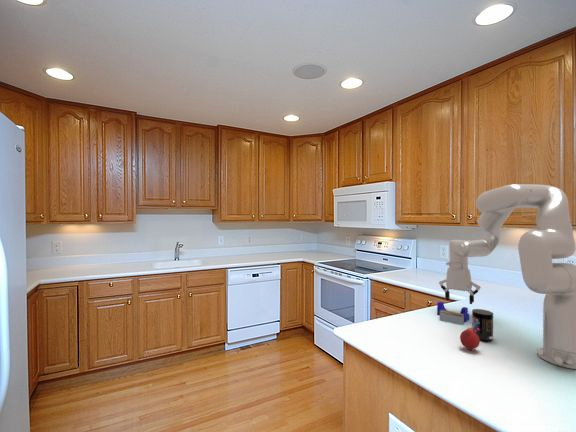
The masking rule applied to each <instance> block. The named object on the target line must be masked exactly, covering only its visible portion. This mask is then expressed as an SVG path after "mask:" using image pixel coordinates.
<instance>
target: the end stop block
mask: <svg viewBox="0 0 576 432" xmlns="http://www.w3.org/2000/svg"><path fill="white" fill-rule="evenodd" d="M446 310H447V309H446ZM446 310H440V316H439V321H442V322H446V323H447V322H448V323H452V324H456V325H461V326H464V324H465V322H464V314H461V313H460V312H456V311H450V310H447V311H446Z"/></svg>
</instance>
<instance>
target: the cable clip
mask: <svg viewBox="0 0 576 432" xmlns="http://www.w3.org/2000/svg"><path fill="white" fill-rule="evenodd" d="M436 304H437V305H436V309H437V310H436V313H437V314H436V315H437V316H439V317H440V310H446V311H448V310H447V308H446V307H445V305H444V301H438V302H436ZM459 313H461V314H464V323H467V322H468V321H470V313H469V307H466V306H463V307H461V310H460V312H459Z"/></svg>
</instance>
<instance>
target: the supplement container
mask: <svg viewBox="0 0 576 432" xmlns="http://www.w3.org/2000/svg"><path fill="white" fill-rule="evenodd" d="M471 311H472V312H471V313H472V314H471V315H472V318H471V319H472V320H471V321H472V322H471V324H472V325H471V328H472V330H473V331H474V332H475V333H476V334H477V335H478V337H479V339H480V342H481V343H491V342H493V341H494V312H492V311H490V310H487V309H483V308H482V309H481V308H473V309H472V310H471Z"/></svg>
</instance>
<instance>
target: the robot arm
mask: <svg viewBox="0 0 576 432" xmlns="http://www.w3.org/2000/svg"><path fill="white" fill-rule="evenodd" d="M475 207H476V209H477V210H478V211H479V212H481V214H480V215H479V217H478V218H477V220H476V222H477V225H478V226H479V227H480V228H481V229H482V230H484V231H486V232H485V234H484V235H483V237H482V239H475V240H473V239H472V240H465V239H463V240H462V239H451V240H449V242H448V246H449V247H448V249H449V254H448V255H449V256H448V257H449V261H448V262H445V265H446V266H449V267H447V271H446V279H443V280H440V281H439V282H438V284H439V285H440V288H441V289H442V291H444V296H445V297H444V299H446V301H449V300H450V296H451V294H450V291H449V290H453V291H455V290H456V291H461V292H468V293H469V296H468V297H469V299H468V300H469V305H472V304H473V303H474V302H475V295H476V294H478V292H479V291H480V289H481V288H482V287H481V285H479V284H477V283H476V282H473V281H472V275H471V271H470V269H469V260H468V258H477V257H479V258H481V257H484V258H485V257H487V256H489V255H491V254H492V253H493V252H494V251H495V250H496V248H497V246H498V245H499V242H500V238H501V234H500V228H501V227H502V226H503V225H504V223H505V222H506V221H507V219H508V218H509V216H510V215H511V214H512V213H513V211H514V210H515V209H538V211H537V213H536V216H535V223H536V228H537V229H536V230H535V229H534V230H528V231H526V232H524V233H523V234H522V235H520V239H519V241H518V245H517V249H518V255H519V262H520V269H521V275H522V279H523V282H524V284H525V286H526V287H527V288H528V289H529V290H530V291H531V292H533V293H536V294H542V295H545V296H544V298H543V302H542V304H543V305H542V307H543V308H542V328H543V329H542V347H541V348H538V349H536V354H537V356H538V357H539V358H541V360H544V361H545V362H547V363H550V364H552V365H556V366H559V367H562V368H566V369H571V370H576V265H575V264H572V263H567V262H553V260H559V259H566V258H570V257H573V255H574V254H575V251H576V241H575V236H574V232H573V225H572V222H571V216H570V206H569V199H568V196H567V194H566V193H565V191H563V190H562V189H561V188H559V187H556V186H553V185H548V184H535V183H534V184H531V183H529V184H527V183H526V184H525V183H521V184H520V183H513V184H507V185H502V186H500V187H497V188H493V189H489V190H487V191H486V190H485V191H484V192H482V193H481V194H480V195H479V196H477V199H476V201H475ZM444 284H445V285H446V286H445V285H444ZM472 287H474V288H475V289H474V290H472Z"/></svg>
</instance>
